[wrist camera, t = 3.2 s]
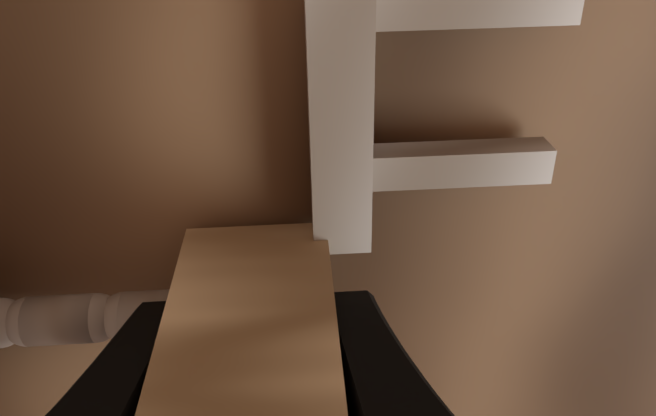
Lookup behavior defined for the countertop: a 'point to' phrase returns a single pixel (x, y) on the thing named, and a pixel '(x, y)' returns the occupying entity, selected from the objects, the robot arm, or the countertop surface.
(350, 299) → the robot arm
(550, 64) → the keeper board
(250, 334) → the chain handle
